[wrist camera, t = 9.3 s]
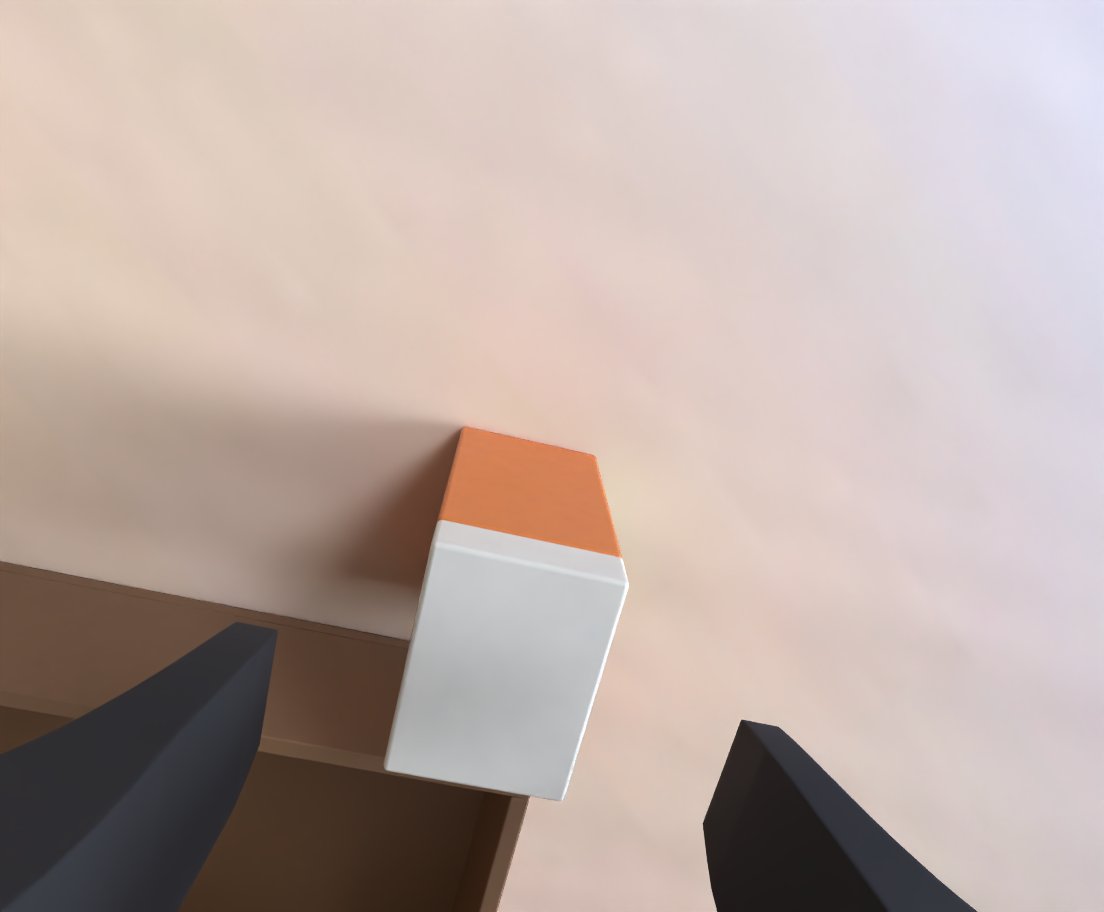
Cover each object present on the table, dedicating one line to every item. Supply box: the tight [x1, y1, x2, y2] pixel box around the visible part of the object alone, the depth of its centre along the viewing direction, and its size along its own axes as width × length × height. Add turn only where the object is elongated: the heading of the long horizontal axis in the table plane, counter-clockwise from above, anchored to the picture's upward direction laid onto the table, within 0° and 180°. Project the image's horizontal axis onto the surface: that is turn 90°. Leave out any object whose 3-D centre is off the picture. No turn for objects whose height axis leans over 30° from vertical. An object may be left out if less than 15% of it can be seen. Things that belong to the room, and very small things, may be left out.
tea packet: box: [384, 427, 629, 801], centre depth 16 cm, size 3×4×6 cm
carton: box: [0, 562, 530, 912], centre depth 19 cm, size 15×11×4 cm
